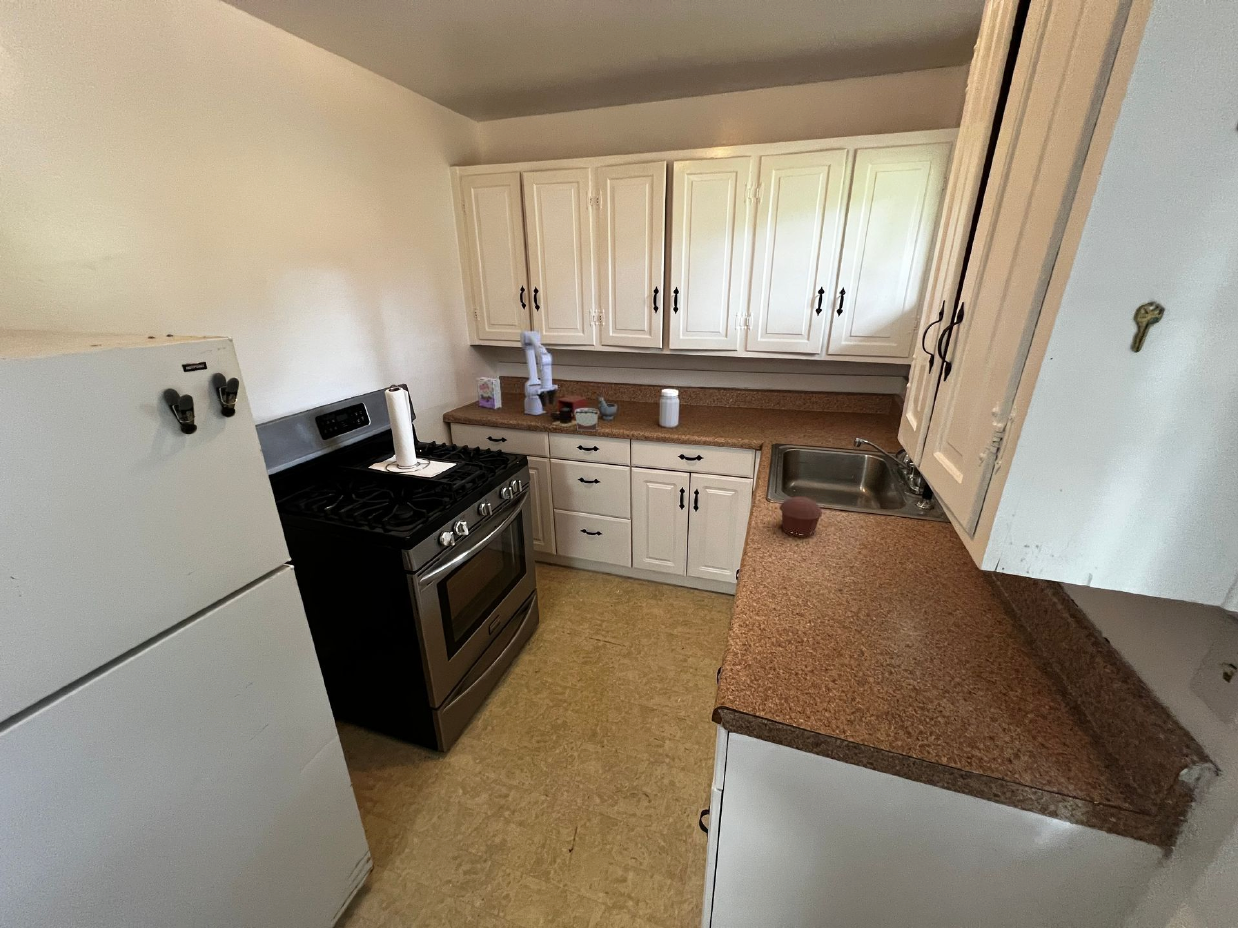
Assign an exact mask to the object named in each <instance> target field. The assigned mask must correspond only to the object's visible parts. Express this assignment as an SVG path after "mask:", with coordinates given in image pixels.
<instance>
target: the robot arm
mask: <svg viewBox="0 0 1238 928" xmlns="http://www.w3.org/2000/svg"><path fill="white" fill-rule="evenodd" d="M519 340H520V346H521V348H522V349H524V353H525V358H526V366H527V367H526V368H527V374H528V375H527V376H528V380H527V381H526V382H525V383H524V394H525V398H524V412H523V413H524V414H529V415H533V416H538V415H542V414H546V412H547V411H545V410H543V407H544V408H546V407H547V400H548V404H549V405H554V401H555V397H556V395H557V393H558V384H553V376H552V374H553V373H552V372H553V371H552V366H553V364H554V359H553V355H552V353H549V352H548V351H547V349H546V347H545V346H544V345H542V344H541V340H542V336H541V332H540V331H539V330H529V331H527V330H526V331H524V330H523V331H522V330H521V332H520V334H519ZM536 358H537V360H536ZM537 365H538V369H537ZM538 370H539V378H538ZM547 398H548V399H547Z"/></svg>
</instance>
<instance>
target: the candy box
mask: <svg viewBox="0 0 1238 928" xmlns="http://www.w3.org/2000/svg"><path fill="white" fill-rule="evenodd" d="M475 379H476V380H475V381H476V389H477V399H478V406H479V407H483V408H487V409H493V410H497V409H501V408H503V405H502V394H501V393H502V391H501V380H500V379H498V378H491V377H487V376H486V377H485V376H481V377H476V378H475Z"/></svg>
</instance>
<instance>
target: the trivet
mask: <svg viewBox="0 0 1238 928" xmlns="http://www.w3.org/2000/svg"><path fill="white" fill-rule="evenodd" d="M551 425H554V426H558V427H559V426H560V427H564V428H570V427H572V426H575V425H577V422H576V420H574V419H572V422H571V423H568V424H564V423H560V420H557V421H555V422H552V423H551Z"/></svg>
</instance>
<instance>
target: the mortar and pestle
mask: <svg viewBox="0 0 1238 928" xmlns="http://www.w3.org/2000/svg"><path fill="white" fill-rule="evenodd" d="M598 401H599V405H598V411H599V415H601V419H603V420H606V421H607V420H613V419H614V415H616V412H617V409H618V405H617V404H615V403H611V402H608V403H606V401H605V398H604V397H602V396H601V397H599V398H598Z"/></svg>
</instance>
